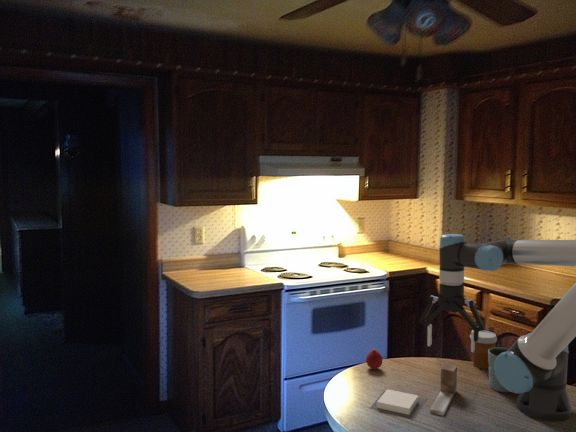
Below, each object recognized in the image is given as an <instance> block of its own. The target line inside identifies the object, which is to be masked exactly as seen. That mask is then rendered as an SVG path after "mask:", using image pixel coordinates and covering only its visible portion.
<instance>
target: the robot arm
mask: <svg viewBox="0 0 576 432" xmlns="http://www.w3.org/2000/svg"><path fill="white" fill-rule="evenodd" d="M465 237H466V236H464V235H463V234H460V233H445V234H442V235H441V236H440V237H439V271H438V272H439V273H438V274H439V279H438V280H439V284H438V286H439V287H438V288H439V289H438V290H439V292H438V294H439V295H438V296H435V295H434V294H431V295H430V296H429V297H428V303H427V304H426V306H425V308H424V311H423V312H422V314H421V316H420V317H419V320H418V323H419V324H422V325H423V326H424V330H423V331H424V335H425V336H426V337H427V341H426V342H427V347H431V345H432V342H433V335H432V333H433V325H432V324H431V322H433V320H435V318H437V316H438V315H439V314H440V313H442V311H444V312H446V313H454V314H455V313H458V314H459V315H460V316H461V317H462V318H463V320H465V322H466V323H467V325H469V328H471V329H472V330H471V332H470V335H471V339H470V352H471V353H472V352H474V350H475V342H477V341H478V339H479V331H483V330H484V331H485V329H486V326H485V324H484V322H483V320H482V318H481V316H480V313H479V312H478V309H477V307H476V304H475V299H474V298H470V299H465V285H464V282H465V267H467V268H469V269H476V270H480V271H488V272H489V271H490V272H495V271H498V270H499V268H500V267H501V266H502V265H531V266H532V265H534V266H554V267H555V266H556V267H557V266H560V267H561V266H562V267H576V239H514V238H502V239H500V240H494V241H489V242H483V243H482V242H481V243H475V242H468V241H466V239H465ZM437 302H438V304H439V305H440V306H439V307H438V308H437V310H435V311H434V312H433V313H432V315H431V316H430V317H429V318H427V319H426V317H427V316H428V314H429V312H430V310H431V308H433V305H434V304H435V303H437ZM465 304H466V306H467V307H468V308H469V310H470V312H471V314H472V317H473V318H474V320H475V321H474V320H473V318H472V317H471V316H470V314H469V313H468V312H467V311H466V309H465V308H464V305H465ZM575 338H576V282H575V283H574V284H573V285H572V286H571V287H570V288H569V289H568V291H566V293H565V294H564V295H563V296H562V297H561V299H560V300H559V301H558V302H557V303H556V304H555V305H554V307H553V308H551V310H550V311H549V312H548V313H547V315H545V316H544V318H543V319H542V320H541V321H540V322H539V324H538V325H537V326H536V327H535V328H534V329H533V330H532V331H531V332H529V333H527V334H526V335H521V336H519V337H518V338H517V340H516V341H515V342H514V343H512V345H511V346H510V347H509V350H508V351H506V352H503V353H501V354H500V355H498V356H497V357H496V359H495V361H494V370H495V375H496V378H497V379H498V381H499V382H500V384H501V385H502V386H503V387H504V388H505V389H507V390H508V391H510V392H509V393H514V394H518V395H517V397H516V407H517V409H518V410H519V411H520V412H522V413H523V414H524V415H527V416H529V417H532V418H534V419H538V420H542V421H550V422H562V421H565V420H567V419H570V418H571V416H572V404H571V401H570V397H569V394H568V393H569V392H568V391H567V379H568V378H567V377H568V363H569V362H568V361H569V353H570V352H569V344H570V343H571V342H572V341H573V340H574V339H575Z"/></svg>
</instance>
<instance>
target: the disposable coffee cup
mask: <svg viewBox="0 0 576 432" xmlns="http://www.w3.org/2000/svg"><path fill="white" fill-rule="evenodd" d="M469 338H470V340H471V334H469ZM497 341H498V337H497V335H496V333H495V332H492V331H488V330H485V329H484V330H483V331H479V339H478V341H477V342H475V350H474V352H471V353H472V364H473V366H474V367H475V368H478V369H483V370H484V369H485V370H489V360H488V359H489V358H488V350H489V349H490V348H494V347H496V344H497Z"/></svg>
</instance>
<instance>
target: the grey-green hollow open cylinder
mask: <svg viewBox="0 0 576 432" xmlns="http://www.w3.org/2000/svg"><path fill="white" fill-rule="evenodd" d="M509 349H510V347H501V346H500V347H497V346H495V347H494V348H490V349H489V350H488V358H489V359H488V360H489V368H488V385H489V386H488V387H489V388H490V389H492V390H494V391H497V392H500V393H511V392H510V391H508V390H507V389H505V388H504V387H503V386H502V385H501V384H500V382H499V381H498V379H497V378H496V375H495V370H494V361H495V359H496V357H497V356H498V355H500V354H501V353H503V352H506V351H508V350H509Z"/></svg>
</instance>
